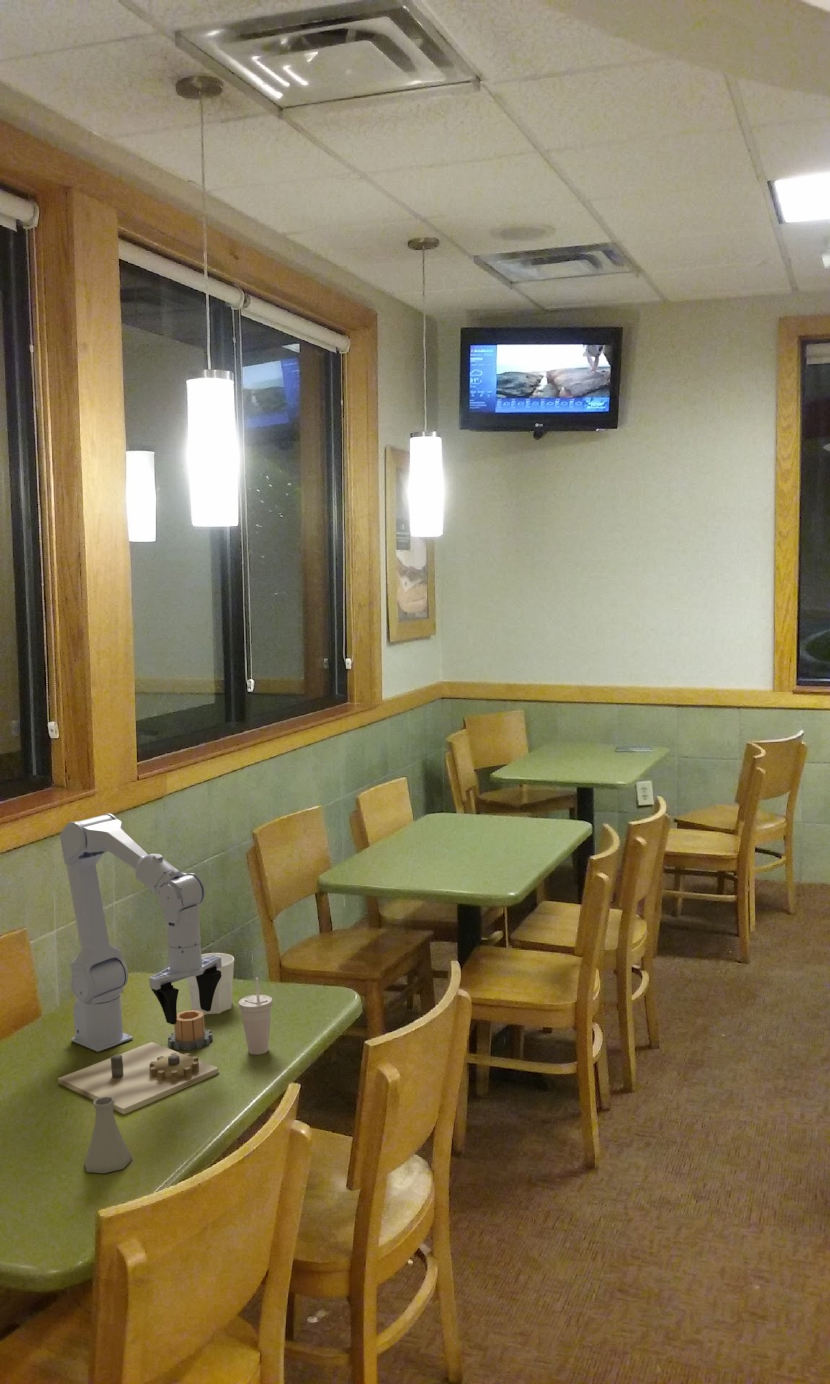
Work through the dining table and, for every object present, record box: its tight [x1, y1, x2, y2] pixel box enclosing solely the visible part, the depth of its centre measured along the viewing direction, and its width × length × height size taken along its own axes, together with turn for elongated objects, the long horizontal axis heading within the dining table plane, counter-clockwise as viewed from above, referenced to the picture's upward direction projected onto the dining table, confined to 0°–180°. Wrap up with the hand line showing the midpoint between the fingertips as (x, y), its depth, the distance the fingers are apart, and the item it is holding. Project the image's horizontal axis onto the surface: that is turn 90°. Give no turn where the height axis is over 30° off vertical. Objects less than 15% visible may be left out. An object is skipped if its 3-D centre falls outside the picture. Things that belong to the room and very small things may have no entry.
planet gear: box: [167, 1009, 214, 1051], centre depth 227 cm, size 8×8×5 cm
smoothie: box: [238, 977, 274, 1056], centre depth 221 cm, size 6×6×14 cm
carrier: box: [57, 1041, 220, 1115], centre depth 211 cm, size 20×20×4 cm
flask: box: [83, 1096, 133, 1174], centre depth 181 cm, size 7×7×10 cm
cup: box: [186, 952, 235, 1016], centre depth 244 cm, size 10×10×10 cm
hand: (188, 1016), depth 214 cm, fingers open, 7 cm apart
